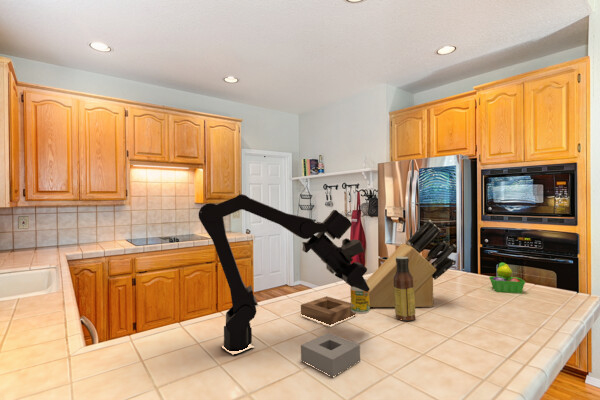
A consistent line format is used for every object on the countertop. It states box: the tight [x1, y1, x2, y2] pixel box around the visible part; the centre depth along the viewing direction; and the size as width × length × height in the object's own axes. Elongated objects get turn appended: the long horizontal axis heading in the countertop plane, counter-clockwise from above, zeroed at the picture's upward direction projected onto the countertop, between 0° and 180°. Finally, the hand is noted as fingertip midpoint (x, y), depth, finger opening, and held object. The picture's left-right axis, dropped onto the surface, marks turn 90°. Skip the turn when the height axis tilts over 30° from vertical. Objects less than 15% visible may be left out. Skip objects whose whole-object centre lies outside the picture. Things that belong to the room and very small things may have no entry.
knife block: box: [367, 219, 458, 308], centre depth 117 cm, size 11×35×31 cm, turn 89°
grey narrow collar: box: [300, 332, 361, 378], centre depth 75 cm, size 10×10×4 cm
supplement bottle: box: [350, 276, 371, 315], centre depth 90 cm, size 5×5×10 cm
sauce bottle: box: [394, 257, 416, 322], centre depth 102 cm, size 7×6×20 cm
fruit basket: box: [488, 262, 526, 294], centre depth 131 cm, size 11×9×11 cm
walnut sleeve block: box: [300, 296, 357, 325], centre depth 104 cm, size 13×13×4 cm
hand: (364, 287), depth 91 cm, fingers closed on supplement bottle, 5 cm apart
